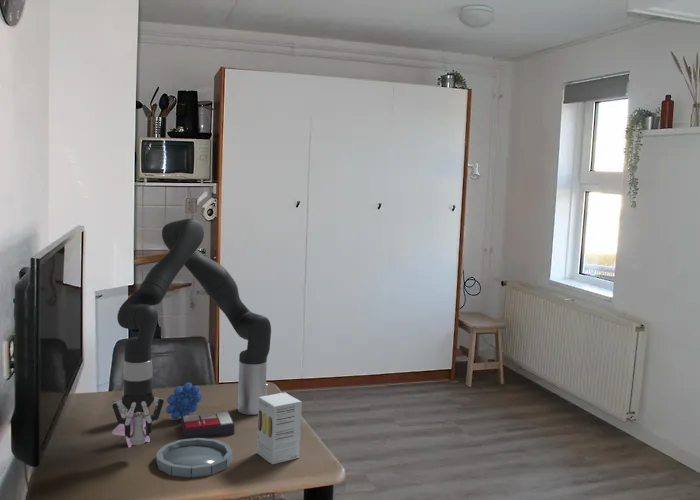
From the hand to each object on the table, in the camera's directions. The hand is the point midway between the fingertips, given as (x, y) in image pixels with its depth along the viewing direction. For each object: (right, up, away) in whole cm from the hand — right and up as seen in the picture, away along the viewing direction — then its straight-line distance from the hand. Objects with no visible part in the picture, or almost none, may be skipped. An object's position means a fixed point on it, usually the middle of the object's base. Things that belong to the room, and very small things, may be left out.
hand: (138, 435), depth 184 cm
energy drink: (-11, -3, +27) cm, 30 cm away
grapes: (+4, -4, +33) cm, 33 cm away
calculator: (+14, -5, +24) cm, 28 cm away
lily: (-6, -5, +12) cm, 15 cm away
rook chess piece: (0, -2, 0) cm, 2 cm away
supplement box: (+38, -8, +7) cm, 39 cm away
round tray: (+15, -7, +1) cm, 17 cm away
